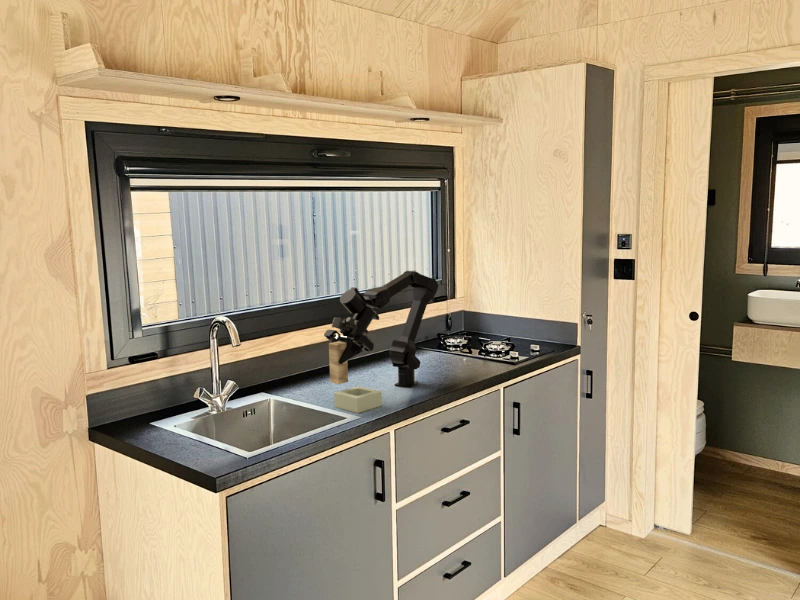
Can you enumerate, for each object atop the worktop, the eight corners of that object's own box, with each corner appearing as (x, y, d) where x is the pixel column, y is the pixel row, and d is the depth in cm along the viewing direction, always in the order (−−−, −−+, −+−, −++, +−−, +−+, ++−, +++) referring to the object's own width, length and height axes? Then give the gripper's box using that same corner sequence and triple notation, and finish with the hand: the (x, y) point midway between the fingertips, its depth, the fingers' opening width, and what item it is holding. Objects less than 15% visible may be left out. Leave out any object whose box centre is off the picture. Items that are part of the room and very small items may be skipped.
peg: (339, 379, 228) (338, 341, 226) (348, 381, 225) (346, 342, 224) (330, 382, 225) (328, 343, 224) (338, 384, 223) (336, 344, 221)
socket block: (359, 399, 229) (358, 386, 229) (382, 405, 222) (381, 391, 222) (334, 406, 222) (334, 392, 221) (357, 413, 215) (357, 398, 214)
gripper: (327, 304, 232) (301, 343, 225) (366, 310, 218) (339, 351, 212) (346, 325, 238) (322, 363, 232) (385, 331, 225) (360, 372, 219)
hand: (335, 362), depth 224 cm, fingers closed on peg, 4 cm apart
